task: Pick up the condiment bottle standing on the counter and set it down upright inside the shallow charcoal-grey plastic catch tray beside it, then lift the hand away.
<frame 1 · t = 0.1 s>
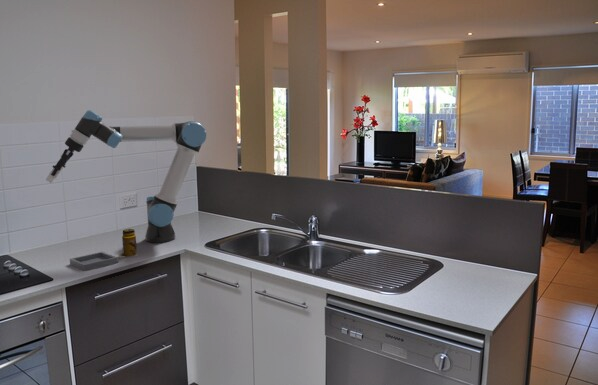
hand: (50, 179, 233), 36 cm above the worktop, tool tilted 35°, fingers open, 13 cm apart
condiment: (128, 255, 238), on the worktop
catch tray: (93, 263, 225), on the worktop
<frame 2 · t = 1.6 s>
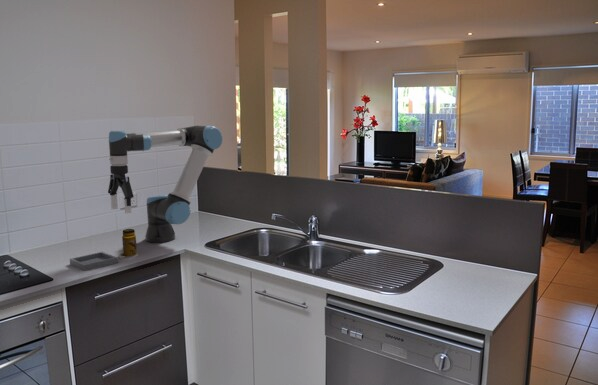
hand: (121, 211, 234), 21 cm above the worktop, tool pointing down, fingers open, 13 cm apart
nothing on the worktop moved.
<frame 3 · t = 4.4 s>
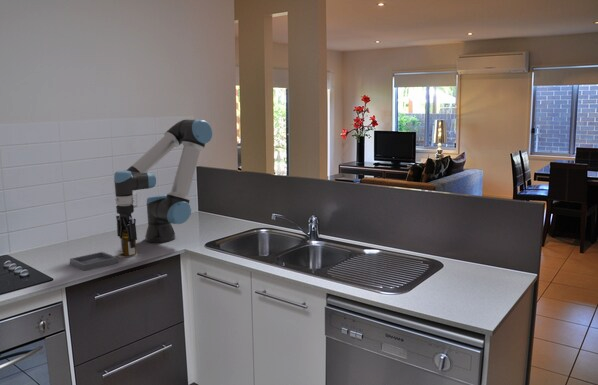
hand: (128, 252, 238), 1 cm above the worktop, tool pointing down, fingers closed on condiment, 6 cm apart
condiment: (127, 255, 238), on the worktop, touching gripper
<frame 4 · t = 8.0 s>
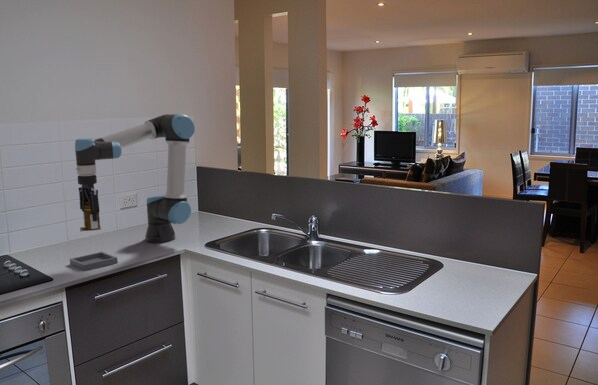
hand: (91, 227, 222), 17 cm above the worktop, tool pointing down, fingers closed on condiment, 6 cm apart
condiment: (90, 229, 223), point 15 cm above the worktop, touching gripper
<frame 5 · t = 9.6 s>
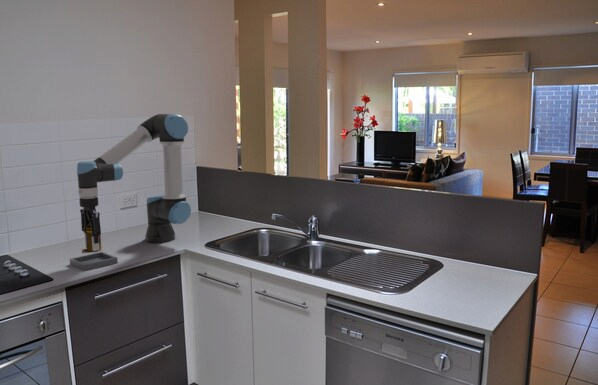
hand: (92, 248, 224), 7 cm above the worktop, tool pointing down, fingers closed on condiment, 6 cm apart
condiment: (92, 251, 224), point 6 cm above the worktop, touching gripper
when the fingers open (3 cm above the worktop, at t = 11.1 s): condiment drops 2 cm, resting on catch tray.
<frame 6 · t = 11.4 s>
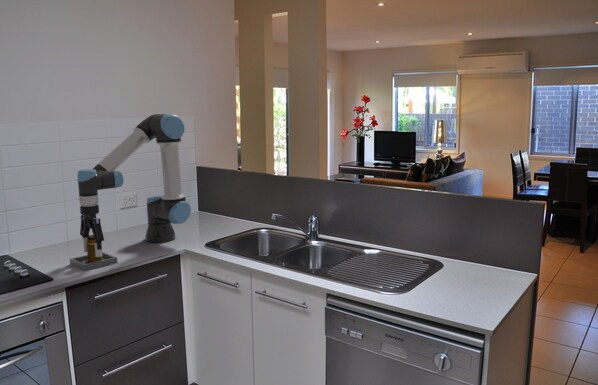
hand: (93, 254, 224), 4 cm above the worktop, tool pointing down, fingers open, 10 cm apart
condiment: (93, 262, 225), resting on catch tray
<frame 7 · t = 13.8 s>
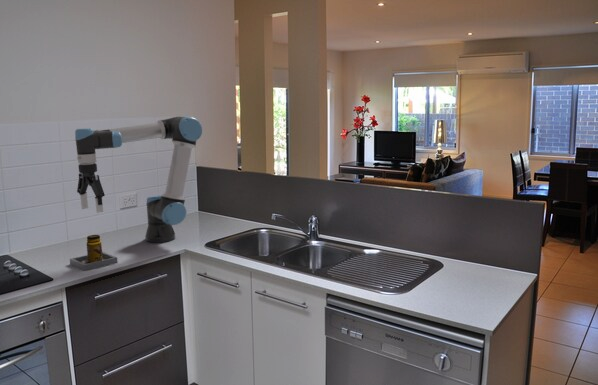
hand: (92, 210, 229), 22 cm above the worktop, tool pointing down, fingers open, 13 cm apart
nothing on the worktop moved.
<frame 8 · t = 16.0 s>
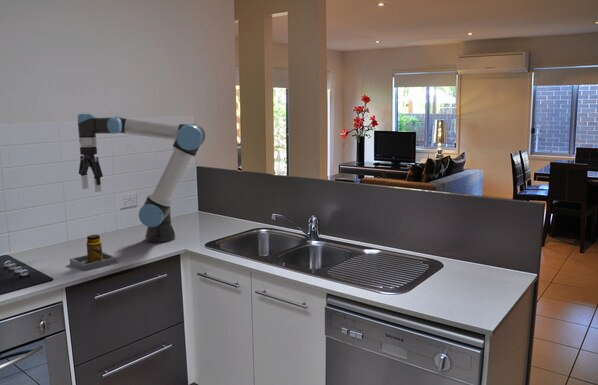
hand: (91, 190, 247), 29 cm above the worktop, tool pointing down, fingers open, 13 cm apart
nothing on the worktop moved.
at the end: condiment inside the target area on the catch tray (0.3 cm from its centre), point 0.3 cm above the catch tray's base; condiment tilted 0°; the gripper is holding nothing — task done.
